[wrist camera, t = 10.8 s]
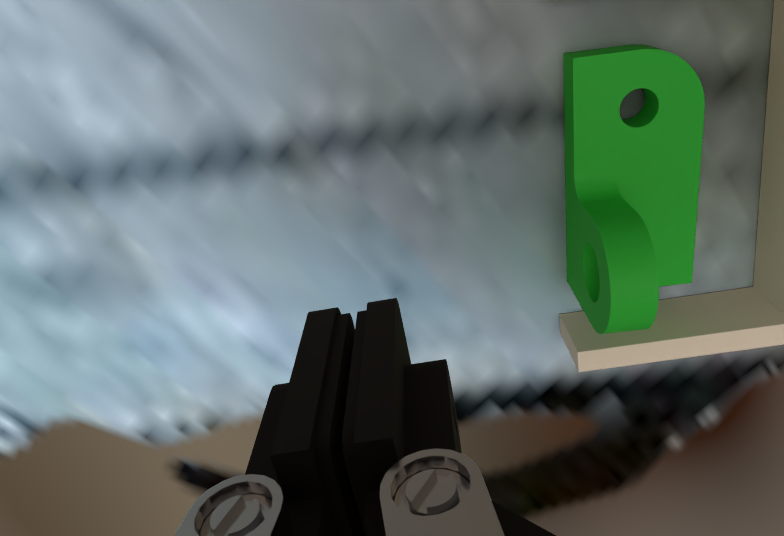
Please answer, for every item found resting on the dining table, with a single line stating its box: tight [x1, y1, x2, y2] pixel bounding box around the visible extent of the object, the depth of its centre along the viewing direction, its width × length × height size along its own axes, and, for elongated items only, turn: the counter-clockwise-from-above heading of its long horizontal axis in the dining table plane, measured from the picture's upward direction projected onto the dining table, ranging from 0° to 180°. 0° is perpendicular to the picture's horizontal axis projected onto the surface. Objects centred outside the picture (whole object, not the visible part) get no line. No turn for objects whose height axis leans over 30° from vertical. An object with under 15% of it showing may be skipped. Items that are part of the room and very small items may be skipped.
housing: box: [559, 0, 784, 372], centre depth 31 cm, size 12×19×4 cm, turn 9°
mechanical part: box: [564, 45, 705, 334], centre depth 30 cm, size 12×6×8 cm, turn 7°
